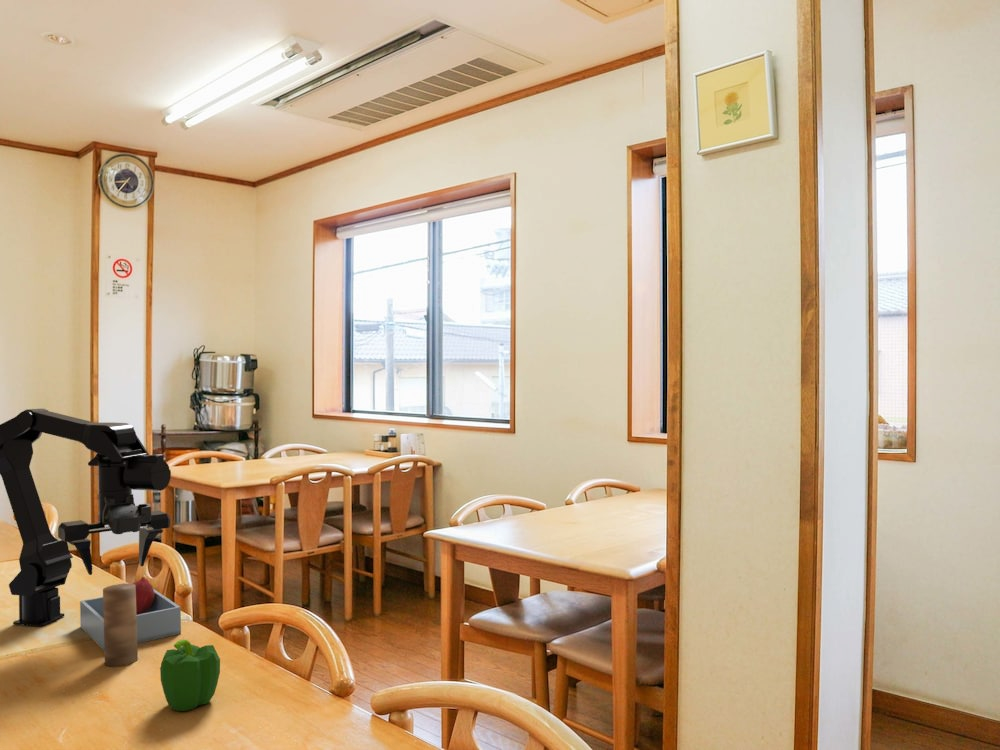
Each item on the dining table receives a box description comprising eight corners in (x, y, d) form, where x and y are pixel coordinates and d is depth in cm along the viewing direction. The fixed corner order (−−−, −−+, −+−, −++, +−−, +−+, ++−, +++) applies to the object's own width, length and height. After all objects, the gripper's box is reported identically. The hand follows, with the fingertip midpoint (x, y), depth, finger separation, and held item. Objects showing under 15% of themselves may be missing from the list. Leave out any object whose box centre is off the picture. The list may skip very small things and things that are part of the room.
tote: (80, 626, 150) (80, 600, 150) (152, 612, 159) (152, 587, 159) (104, 650, 137) (103, 622, 137) (180, 633, 146) (180, 607, 146)
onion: (153, 620, 155) (166, 579, 157) (137, 619, 149) (150, 576, 152) (127, 615, 156) (140, 574, 158) (110, 613, 150) (124, 571, 153)
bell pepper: (201, 687, 121) (200, 623, 121) (230, 701, 116) (229, 634, 116) (147, 706, 115) (146, 638, 114) (176, 722, 109) (175, 651, 109)
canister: (98, 665, 130) (96, 591, 130) (117, 654, 135) (115, 583, 135) (125, 667, 130) (123, 592, 129) (143, 656, 134) (141, 583, 134)
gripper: (72, 500, 138) (73, 588, 138) (179, 488, 150) (180, 569, 150) (56, 492, 146) (58, 576, 146) (160, 482, 158) (161, 559, 158)
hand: (116, 570), depth 150 cm, fingers open, 9 cm apart
